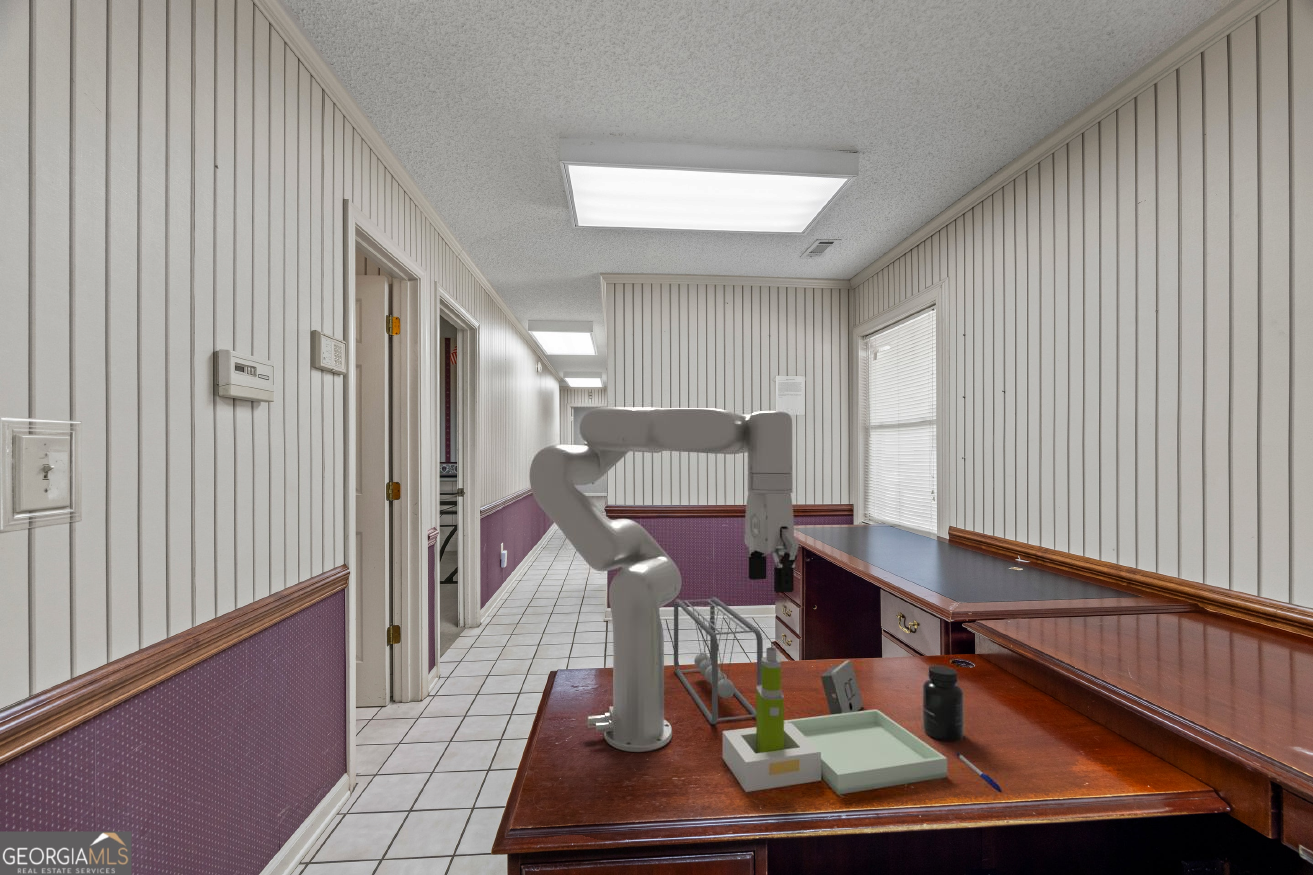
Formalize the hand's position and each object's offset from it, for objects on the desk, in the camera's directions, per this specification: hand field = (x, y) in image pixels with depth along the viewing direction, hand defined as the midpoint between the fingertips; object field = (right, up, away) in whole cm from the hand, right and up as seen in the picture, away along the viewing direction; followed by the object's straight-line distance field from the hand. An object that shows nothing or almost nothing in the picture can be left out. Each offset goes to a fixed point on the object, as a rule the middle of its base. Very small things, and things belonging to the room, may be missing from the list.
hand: (770, 585), depth 92 cm
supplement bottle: (+35, -31, +10) cm, 48 cm away
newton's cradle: (-7, -32, +28) cm, 43 cm away
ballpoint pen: (+34, -31, -2) cm, 46 cm away
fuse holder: (0, -30, -1) cm, 30 cm away
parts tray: (+16, -30, +3) cm, 35 cm away
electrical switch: (+19, -31, +20) cm, 42 cm away
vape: (0, -30, -1) cm, 30 cm away
